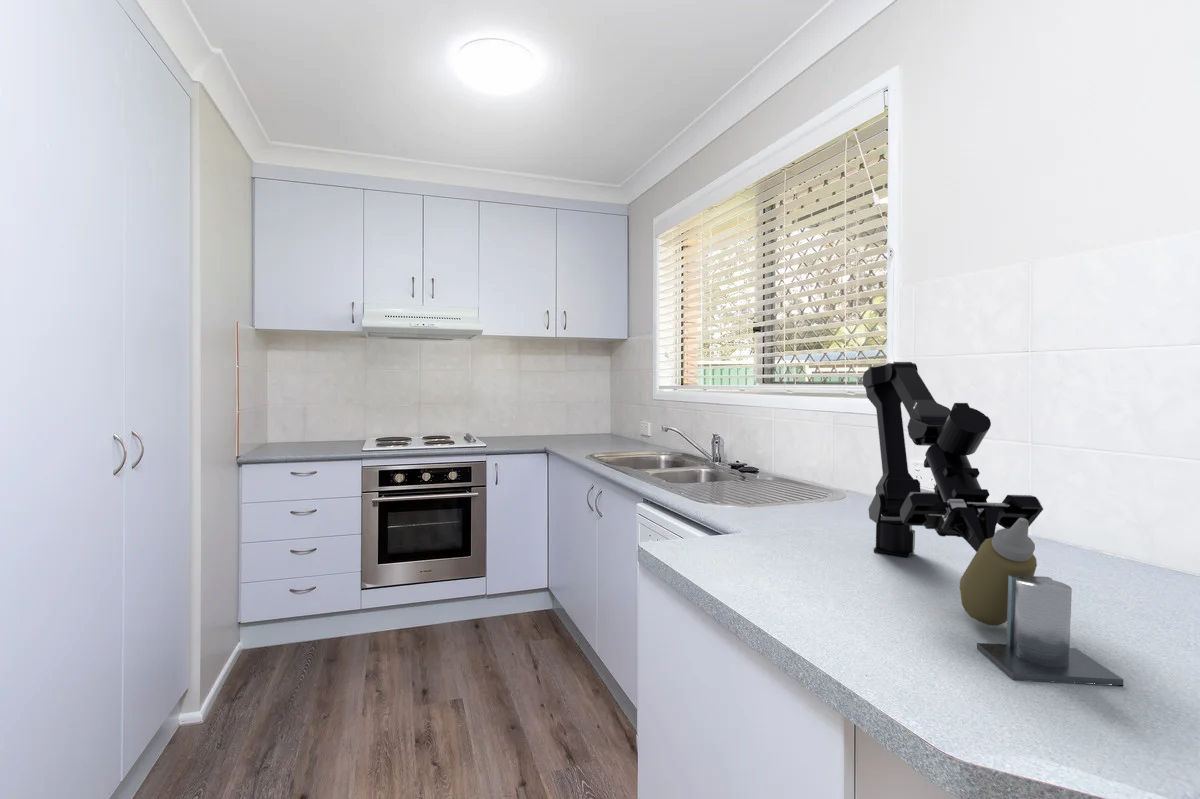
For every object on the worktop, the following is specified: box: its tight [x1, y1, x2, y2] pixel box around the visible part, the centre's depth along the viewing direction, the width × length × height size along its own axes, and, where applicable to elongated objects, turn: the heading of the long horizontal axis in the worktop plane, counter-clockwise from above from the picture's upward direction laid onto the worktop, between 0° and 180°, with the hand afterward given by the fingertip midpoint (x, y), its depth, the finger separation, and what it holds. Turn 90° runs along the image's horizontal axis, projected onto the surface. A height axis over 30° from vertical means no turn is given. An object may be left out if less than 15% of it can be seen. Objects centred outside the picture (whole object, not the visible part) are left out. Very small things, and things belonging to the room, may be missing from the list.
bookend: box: [976, 575, 1125, 686], centre depth 72 cm, size 8×12×10 cm, turn 84°
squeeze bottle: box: [959, 518, 1038, 626], centre depth 82 cm, size 8×8×18 cm
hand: (988, 559), depth 85 cm, fingers closed, pressing on squeeze bottle
